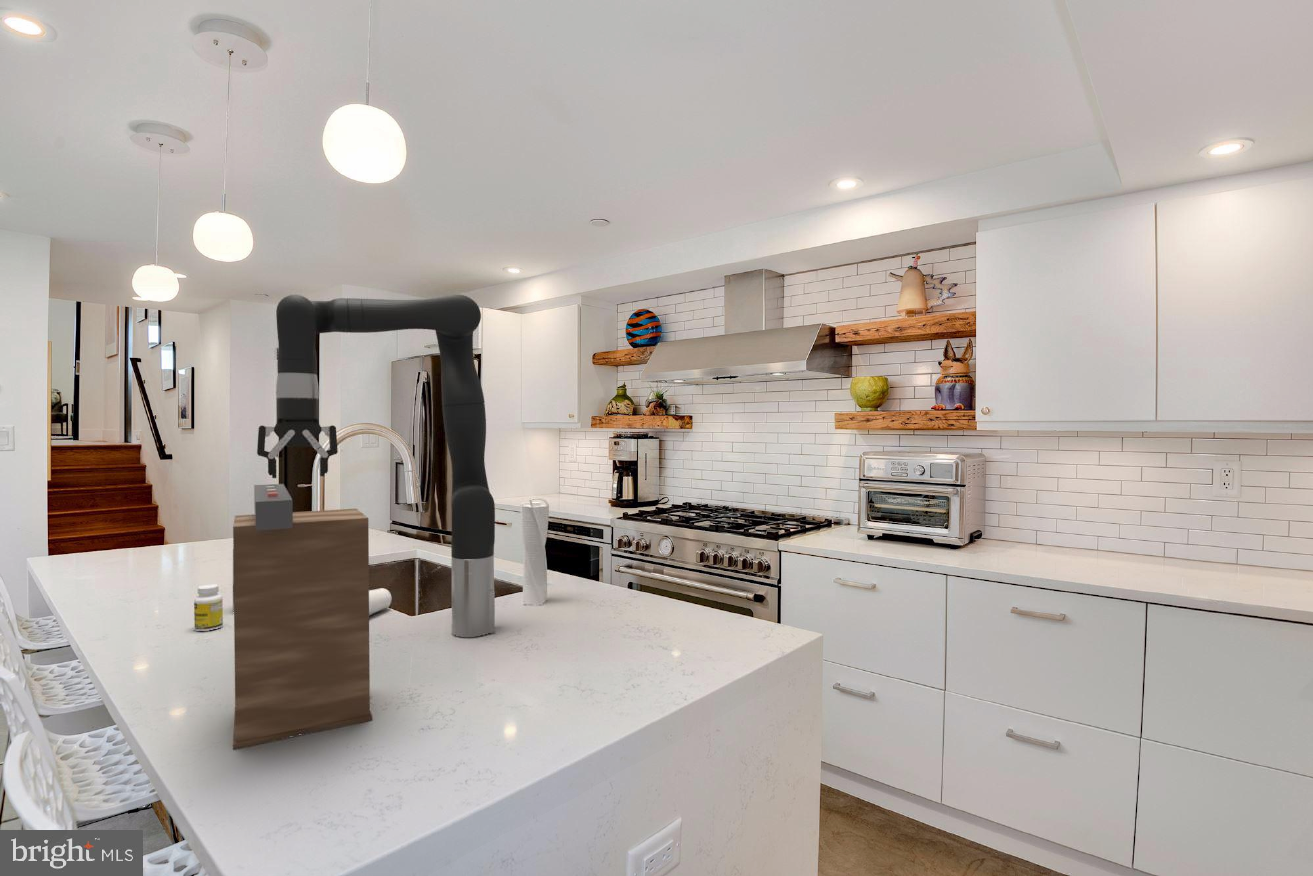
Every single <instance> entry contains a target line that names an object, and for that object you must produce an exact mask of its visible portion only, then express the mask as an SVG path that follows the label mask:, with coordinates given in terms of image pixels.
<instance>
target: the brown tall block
mask: <svg viewBox="0 0 1313 876" xmlns="http://www.w3.org/2000/svg"><path fill="white" fill-rule="evenodd" d="M369 535H370V534H369V517H368V516H366V515H365V514H364V513H362V512H361V511H360V510H359V509H357V508H345V509H344V508H343V509H342V508H341V509H325V510H312V511H311V510H308V511H293V528H288V529H273V530H259V531H256V526H255V514H243V515H234V520H233V526H232V536H233V537H232V538H233V539H232V540H233V541H232V542H233V543H232V544H233V545H232V546H233V547H232V559H233V558H234V613H233V620H234V621H233V622H234V624H233V627H234V629H233V631H234V633H233V635H234V637H233V638H234V720H233V722H234V723H233V735H232V736H233V738H232V750H236V748H238V749H242V747H243V748H246V746H248V747H251V746H255V744H257V745H262V744H265V742H266V743H270V741H271V742H274V741H273V740H276V741H280V740H279V739H281V740H283V739H282V738H285V739H288V738H287V737H290V736H295V737H298V736H297V735H299V734H304V735H307V734H306V733H309V734H312V733H311V732H314V733H317V732H316V731H318V732H322V730H323V731H326V730H325V729H328V730H331V729H332V728H333V729H336V728H335V727H337V728H342V727H346V726H345V725H347V726H351V725H356V724H361V723H367V722H369V721H373V714H372V711H371V708H370V707H371V706H370V704H371V702H370V700H371V697H370V695H371V694H370V693H371V691H370V689H371V688H370V687H371V686H370V675H371V674H370V615H369V590H370V565H369V563H370V562H369V561H370V559H369V558H370V556H369V555H370V554H369V551H370V550H369V548H370V547H369V541H370V540H369V537H370V536H369ZM290 738H291V737H290ZM261 743H262V744H261Z"/></svg>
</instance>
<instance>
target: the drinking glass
mask: <svg viewBox="0 0 1313 876" xmlns="http://www.w3.org/2000/svg"><path fill="white" fill-rule="evenodd" d="M391 603H392V595H391V592H390V591H389V590H388V589H386V588H383V587H381V588H376V589H369V616H372V615H373V614H376V613H378V612H380V611H383V610H386V609H388V608H389V607H390V605H391ZM385 608H386V609H385Z"/></svg>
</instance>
